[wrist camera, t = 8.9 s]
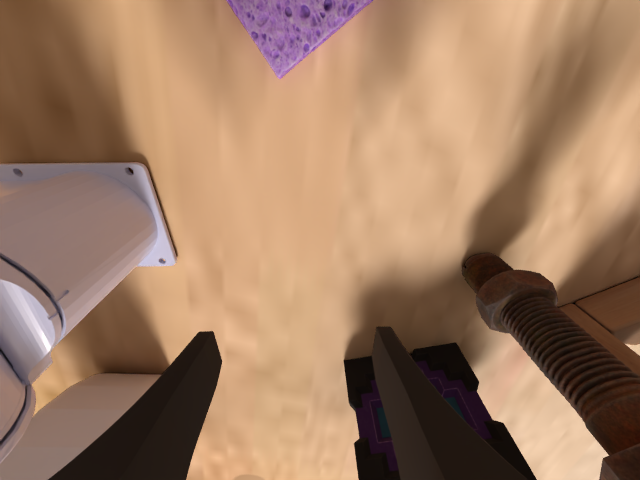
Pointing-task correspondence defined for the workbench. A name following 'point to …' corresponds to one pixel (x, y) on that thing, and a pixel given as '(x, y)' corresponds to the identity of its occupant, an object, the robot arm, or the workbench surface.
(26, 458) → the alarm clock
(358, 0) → the sponges
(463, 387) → the energy cube
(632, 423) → the bolt
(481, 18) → the workbench surface
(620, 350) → the wooden block
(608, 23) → the workbench surface
